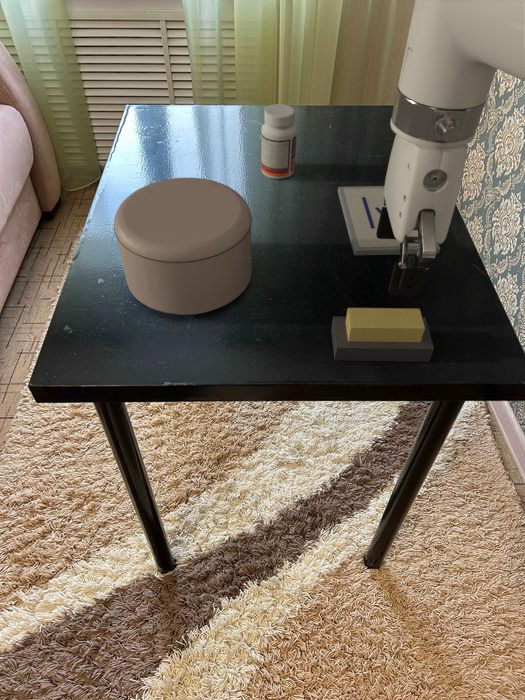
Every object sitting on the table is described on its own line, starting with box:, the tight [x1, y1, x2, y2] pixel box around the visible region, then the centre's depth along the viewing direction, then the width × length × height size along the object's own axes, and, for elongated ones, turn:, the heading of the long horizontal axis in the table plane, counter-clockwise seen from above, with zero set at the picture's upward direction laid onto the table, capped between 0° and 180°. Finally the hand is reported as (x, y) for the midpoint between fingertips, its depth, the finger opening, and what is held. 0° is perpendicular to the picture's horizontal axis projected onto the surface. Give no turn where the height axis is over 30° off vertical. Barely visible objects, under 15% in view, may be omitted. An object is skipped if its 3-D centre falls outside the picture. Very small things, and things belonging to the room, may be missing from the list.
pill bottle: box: [260, 103, 298, 180], centre depth 94 cm, size 6×6×11 cm
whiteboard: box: [337, 185, 441, 256], centre depth 88 cm, size 18×13×1 cm
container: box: [113, 177, 253, 316], centre depth 74 cm, size 18×18×12 cm
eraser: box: [330, 307, 435, 363], centre depth 68 cm, size 12×6×5 cm, turn 90°
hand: (395, 264), depth 60 cm, fingers open, 9 cm apart
